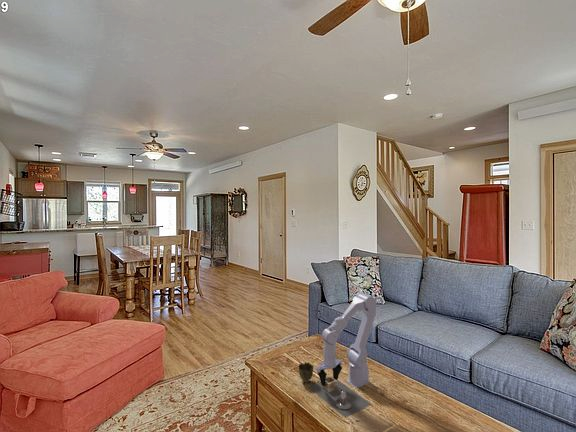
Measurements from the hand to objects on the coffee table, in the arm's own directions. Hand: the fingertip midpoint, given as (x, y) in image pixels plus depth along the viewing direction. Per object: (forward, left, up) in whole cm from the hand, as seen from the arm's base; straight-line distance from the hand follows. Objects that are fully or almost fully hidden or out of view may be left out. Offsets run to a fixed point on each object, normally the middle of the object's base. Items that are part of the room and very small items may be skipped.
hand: (329, 382), depth 145 cm
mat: (0, +7, -3) cm, 7 cm away
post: (+3, +13, -3) cm, 14 cm away
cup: (+6, -11, -3) cm, 13 cm away
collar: (0, 0, -3) cm, 3 cm away
